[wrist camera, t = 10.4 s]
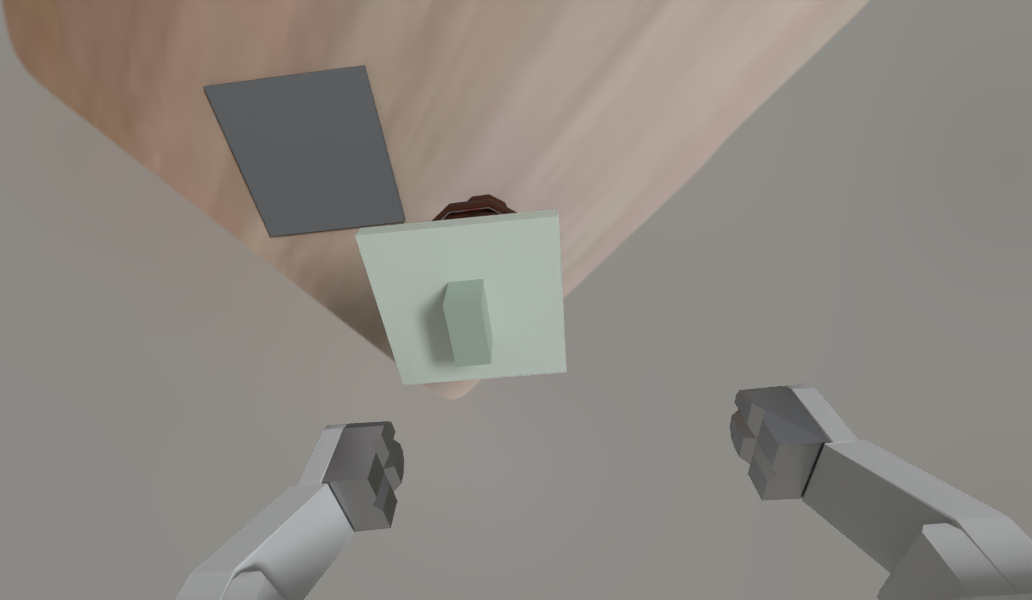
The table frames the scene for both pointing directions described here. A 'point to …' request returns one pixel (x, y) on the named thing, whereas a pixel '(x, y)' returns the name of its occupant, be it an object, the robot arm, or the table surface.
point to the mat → (310, 150)
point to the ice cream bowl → (474, 208)
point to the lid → (469, 295)
